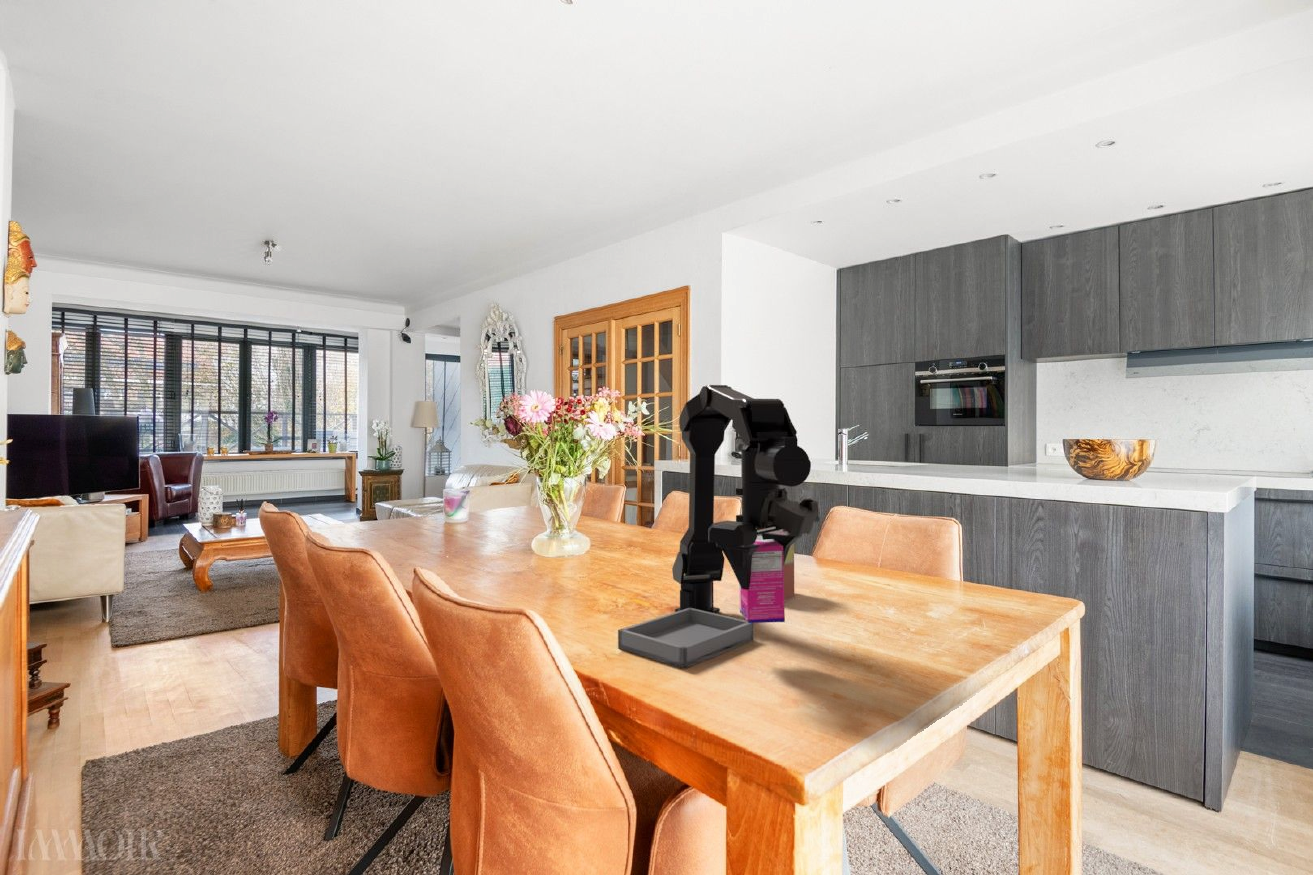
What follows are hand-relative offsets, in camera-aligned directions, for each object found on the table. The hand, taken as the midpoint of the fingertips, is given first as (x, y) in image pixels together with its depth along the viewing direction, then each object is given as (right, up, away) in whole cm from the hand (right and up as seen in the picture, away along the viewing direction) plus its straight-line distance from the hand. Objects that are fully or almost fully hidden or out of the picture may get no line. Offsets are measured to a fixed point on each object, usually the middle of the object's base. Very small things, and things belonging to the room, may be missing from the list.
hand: (761, 584), depth 100 cm
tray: (-11, -12, +9) cm, 18 cm away
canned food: (+8, -12, +41) cm, 43 cm away
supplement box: (0, -5, 0) cm, 5 cm away
